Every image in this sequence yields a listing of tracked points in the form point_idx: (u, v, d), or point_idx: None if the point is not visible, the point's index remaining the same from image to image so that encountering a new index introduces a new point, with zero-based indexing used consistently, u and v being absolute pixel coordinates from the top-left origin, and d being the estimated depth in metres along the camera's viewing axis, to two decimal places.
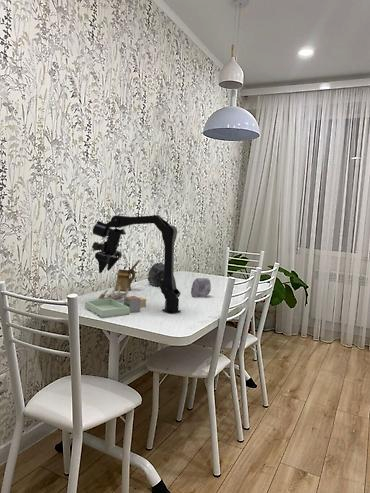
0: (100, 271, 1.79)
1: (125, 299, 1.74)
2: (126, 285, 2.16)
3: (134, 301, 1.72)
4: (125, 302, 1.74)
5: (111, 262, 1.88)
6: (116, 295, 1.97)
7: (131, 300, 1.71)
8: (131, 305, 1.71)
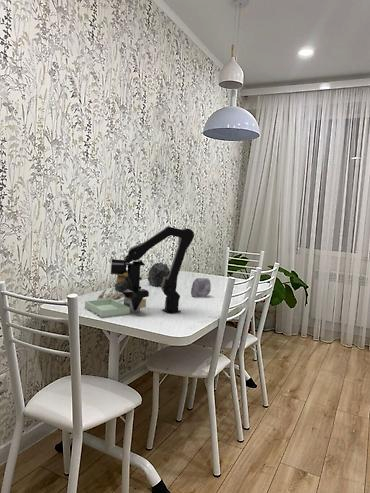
0: (136, 308, 1.72)
1: (125, 299, 1.74)
2: None
3: None
4: (125, 302, 1.74)
5: None
6: (115, 295, 1.97)
7: (131, 300, 1.71)
8: (131, 305, 1.71)
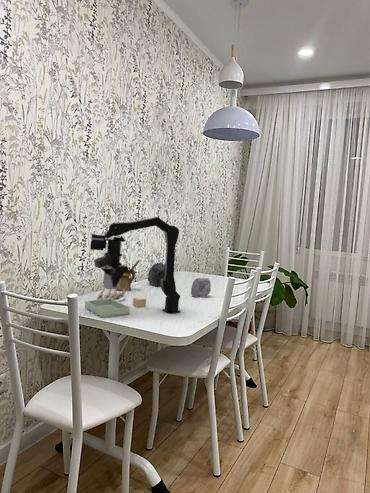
0: (115, 285, 1.68)
1: (105, 275, 1.70)
2: (126, 285, 2.16)
3: None
4: (105, 278, 1.70)
5: None
6: (113, 295, 1.97)
7: (110, 276, 1.67)
8: (110, 281, 1.67)
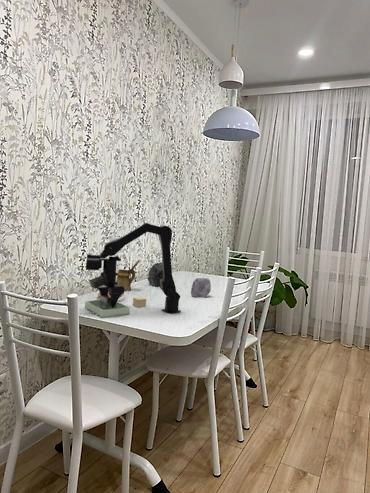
0: (113, 305, 1.67)
1: (101, 297, 1.71)
2: (126, 285, 2.16)
3: (110, 300, 1.69)
4: (101, 301, 1.71)
5: (104, 293, 1.75)
6: None
7: (107, 298, 1.68)
8: (107, 304, 1.68)
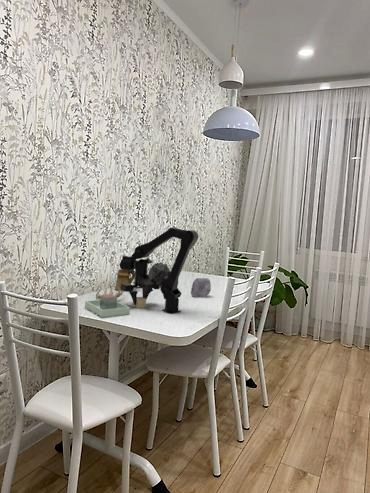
0: None
1: (101, 297, 1.71)
2: None
3: (110, 300, 1.69)
4: (101, 301, 1.71)
5: None
6: None
7: (107, 298, 1.68)
8: (107, 304, 1.68)
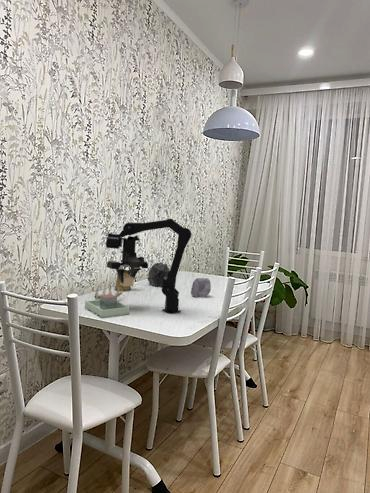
0: None
1: (101, 297, 1.71)
2: None
3: (110, 300, 1.69)
4: (101, 301, 1.71)
5: None
6: None
7: (107, 298, 1.68)
8: (107, 304, 1.68)
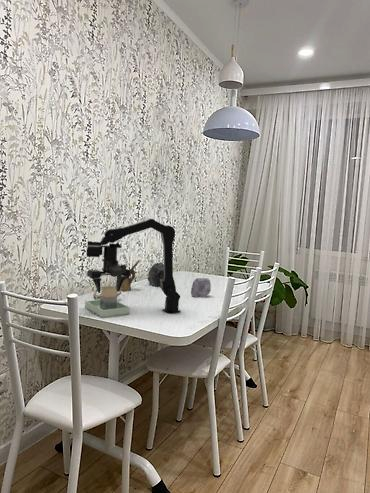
0: None
1: (101, 297, 1.71)
2: (126, 285, 2.16)
3: (110, 300, 1.69)
4: (101, 301, 1.71)
5: None
6: None
7: (107, 298, 1.68)
8: (107, 304, 1.68)
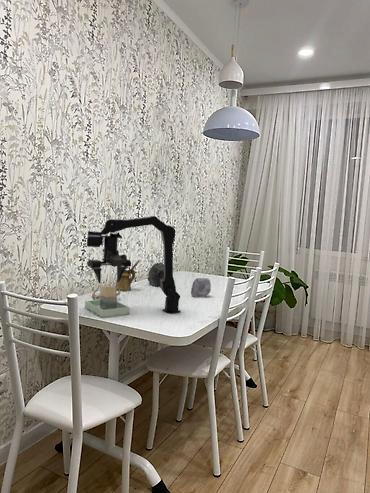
0: None
1: (101, 297, 1.71)
2: (126, 285, 2.16)
3: (110, 300, 1.69)
4: (101, 301, 1.71)
5: None
6: None
7: (107, 298, 1.68)
8: (107, 304, 1.68)
